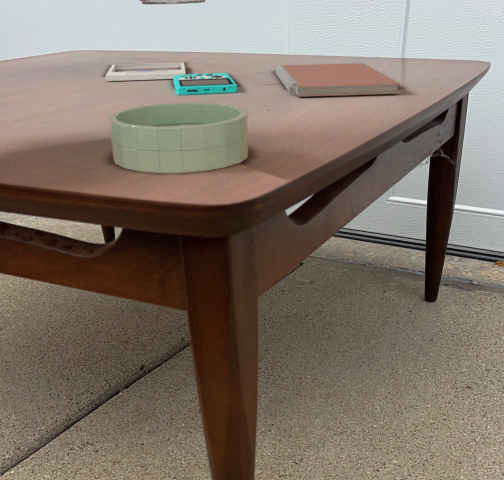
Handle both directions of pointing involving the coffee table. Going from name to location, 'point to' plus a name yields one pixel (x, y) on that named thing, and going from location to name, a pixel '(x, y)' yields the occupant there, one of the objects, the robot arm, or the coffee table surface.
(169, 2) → the can
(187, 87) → the handheld game console
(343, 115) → the coffee table surface
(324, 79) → the notebook
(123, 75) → the photo frame
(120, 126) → the bowl
